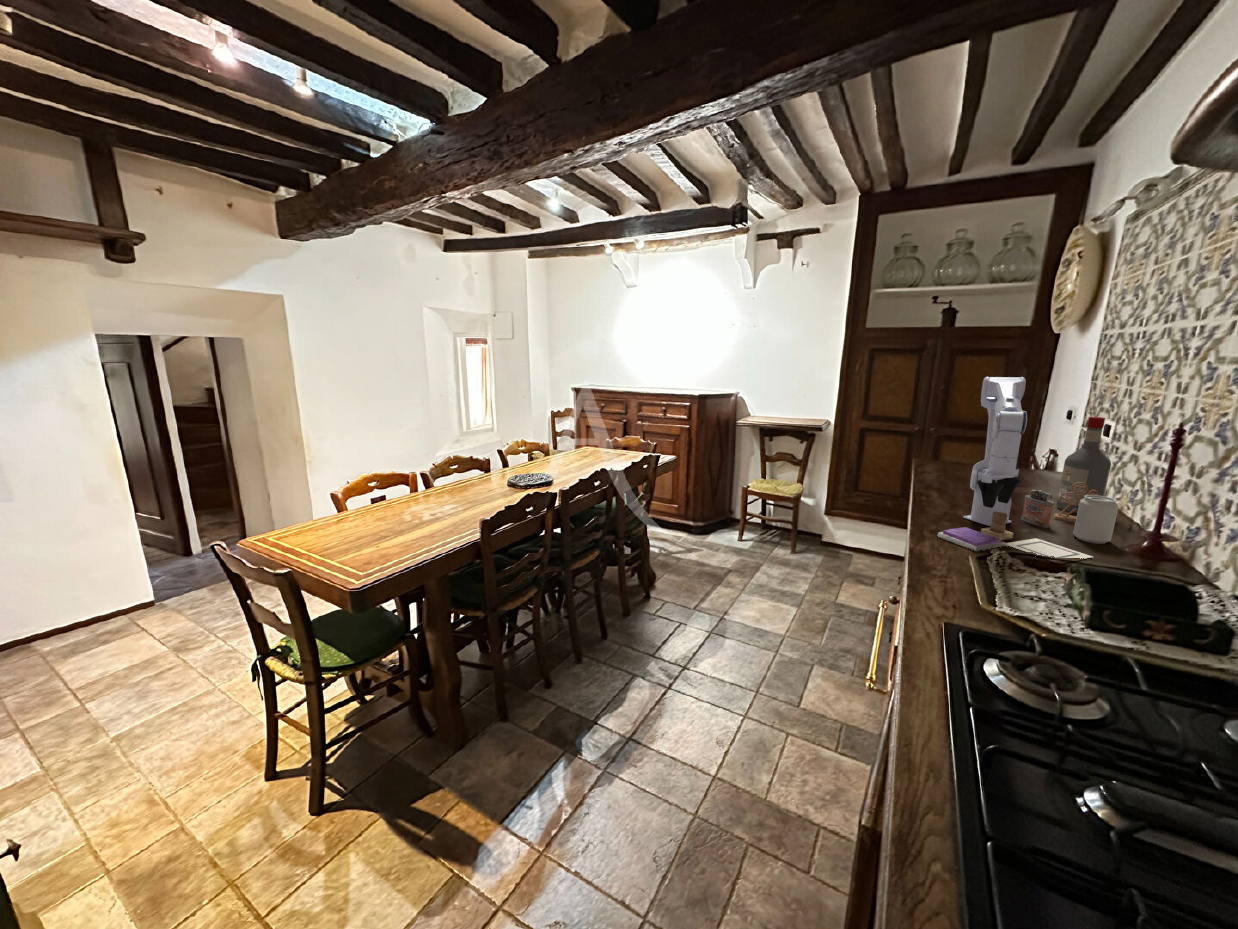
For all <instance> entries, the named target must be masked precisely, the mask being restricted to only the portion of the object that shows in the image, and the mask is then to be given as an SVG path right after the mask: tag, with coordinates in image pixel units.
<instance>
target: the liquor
mask: <svg viewBox="0 0 1238 929" xmlns="http://www.w3.org/2000/svg"><path fill="white" fill-rule="evenodd" d="M1105 422H1106V417H1101V416H1089V417H1088V420H1087V423H1086V424H1087V425H1086V427H1087V428H1086V431H1085V436H1084V441H1083V444H1082V445H1081V447H1080V448H1078V449H1077V450H1076V451H1074V452H1073V453H1071V454H1069V455H1068V456H1067V457H1066V458H1065V459H1064V463H1063V469H1062V473H1061V478H1060V484H1059V490H1058V495H1057V498H1056V508H1057V509H1060V510H1061V511H1062V510H1064V509H1065V508H1066V507H1067V506H1068V505H1069V504H1070V500H1071V499H1068V501H1067V502H1066V503H1062V502H1060V500H1061V501H1063V502H1065V501H1066V500H1064V499H1062V498H1061V499H1060V500H1059V498H1060V496H1061V495H1062V494H1064V493H1067V492H1073V491H1072V485H1073V484H1074V483H1077V482H1083V483H1085V484H1087V486H1088V491H1087V492H1086V493H1084V494H1088V493H1089V491H1090V490H1096V491H1097V492H1098V495H1099V496H1105V494H1106V490H1107V484H1108V480H1109V475H1110V471H1111V467H1112V463H1111V460H1110V458H1109V457H1108V456H1107V455H1106V454H1105V453H1104V452H1103V450H1101V449H1100V448H1101V445H1100V443H1101V438H1102V437H1101V436H1102V432H1103V429H1104V426H1105ZM1085 484H1082V483H1078V484H1075V485H1074V486H1079V487H1082V486H1083V487H1085V488H1087V486H1086V485H1085ZM1075 489H1076V490H1077V491H1083V490H1085V491H1086V490H1087V489H1081V488H1078V489H1077V488H1076V487H1073V490H1074V491H1075V492H1077V491H1076V490H1075ZM1085 491H1084V492H1085ZM1096 491H1091V493H1093V494H1097V492H1096ZM1081 493H1083V492H1080V493H1079V494H1081ZM1077 494H1078V492H1077ZM1074 495H1075V494H1073V493H1068V494H1065V495H1063V496H1062V497H1063V498H1066V499H1067V498H1072V502H1071V503H1072V504H1073V503H1074V504H1076V501H1077V497H1078V496H1074ZM1089 495H1092V494H1089ZM1084 496H1085V495H1083V496H1082V497H1080V496H1079V499H1078V502H1079V503H1080V500H1082V499H1083V498H1085V497H1084ZM1079 503H1077V504H1078V505H1079ZM1078 505H1077V506H1076V505H1075V506H1074V505H1070V506H1069V507H1068V508H1067V509H1066V510H1065V512H1067V513H1068V514H1069V513H1070V512H1071V511H1072V510H1074V509H1075V508H1076V509H1077V511H1078V508H1079V506H1078ZM1077 511H1076V510H1075V511H1074V512H1072V513H1071V514H1076V515H1077Z"/></svg>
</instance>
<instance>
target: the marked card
mask: <svg viewBox="0 0 1238 929" xmlns="http://www.w3.org/2000/svg"><path fill="white" fill-rule="evenodd" d="M1008 546H1010V547H1013V548H1016V549H1019V550H1022V551H1025V552H1033V553H1036V554H1037V555H1042V556H1048V557H1050V556H1054V557H1055V558H1080V559H1081V558H1082V559H1083V558H1084V559H1087V558H1092V559H1094V556H1092V555H1088V554H1086V553H1082V552H1080V551H1077V550H1073V549H1070V548H1067V547H1065V546H1062V545H1058V544H1055V543H1052V542H1050V541H1049V542H1048V541H1045V540H1043V539H1039V538H1037V537H1035V538H1030V539H1022V540H1016V541H1012V542H1005V546H1004V547H1008ZM1010 547H1009V548H1010ZM1013 548H1012V549H1013ZM1016 549H1015V550H1016ZM1019 550H1018V551H1019ZM1022 551H1021V552H1022ZM1051 558H1052V557H1051ZM1087 560H1088V559H1087Z"/></svg>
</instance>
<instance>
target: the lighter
mask: <svg viewBox="0 0 1238 929" xmlns="http://www.w3.org/2000/svg"><path fill="white" fill-rule="evenodd" d="M1024 499H1025V501H1024V505H1023V511H1022V516H1021V517H1020V520H1021V521H1024V522H1026V523H1027V524H1028V523H1029V524H1031V525H1035V526H1038V527H1041V528H1045V529H1046V528H1050V526H1051V523H1050V522H1051V519H1052V518H1051V517H1052V511H1053V507H1054V506H1055V501H1051V500H1050V499H1053V494H1052V493H1049V492H1045V491H1044V490H1043V489H1042V490H1040V489H1038V490H1037V489H1030V494H1026V495H1024Z"/></svg>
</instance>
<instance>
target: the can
mask: <svg viewBox="0 0 1238 929" xmlns="http://www.w3.org/2000/svg"><path fill="white" fill-rule="evenodd" d="M1084 497H1085V498H1083V499H1082V500H1080V503H1079V508H1078V513H1077V514H1076V516H1077V517H1076V522H1074V528H1073V533H1072V534H1073V535H1074V536H1075V537H1076V539H1077V540H1080V541H1083V542H1086V543H1092V544H1101V545H1102V544H1106V543H1108V542H1111V541H1112V538H1113V534H1114V529H1115V524H1116V520H1117V516H1118V511H1119V507H1120V506H1119V504H1118V503H1116V502H1117V499H1115V498H1112V497H1109V496H1105V495H1104V496H1099V495H1085V496H1084Z"/></svg>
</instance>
